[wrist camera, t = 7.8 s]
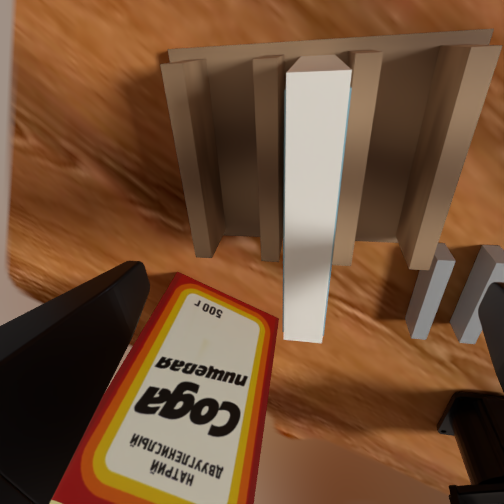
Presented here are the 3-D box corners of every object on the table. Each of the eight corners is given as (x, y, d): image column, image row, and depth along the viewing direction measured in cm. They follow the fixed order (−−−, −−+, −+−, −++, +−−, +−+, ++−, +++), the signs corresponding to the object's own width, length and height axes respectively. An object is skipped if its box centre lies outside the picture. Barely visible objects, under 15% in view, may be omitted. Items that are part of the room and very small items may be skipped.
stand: (464, 323, 24) (474, 343, 22) (405, 318, 25) (411, 338, 23) (499, 245, 20) (515, 264, 18) (428, 242, 21) (437, 260, 19)
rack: (423, 235, 20) (446, 279, 17) (203, 227, 23) (181, 263, 19) (483, 29, 14) (541, 26, 11) (174, 48, 17) (135, 51, 13)
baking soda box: (158, 318, 30) (33, 537, 17) (177, 271, 26) (36, 507, 13) (248, 357, 31) (197, 593, 18) (278, 318, 27) (243, 580, 14)
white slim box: (320, 234, 21) (322, 343, 13) (294, 233, 21) (282, 339, 13) (336, 54, 15) (353, 69, 8) (300, 56, 15) (284, 72, 8)
